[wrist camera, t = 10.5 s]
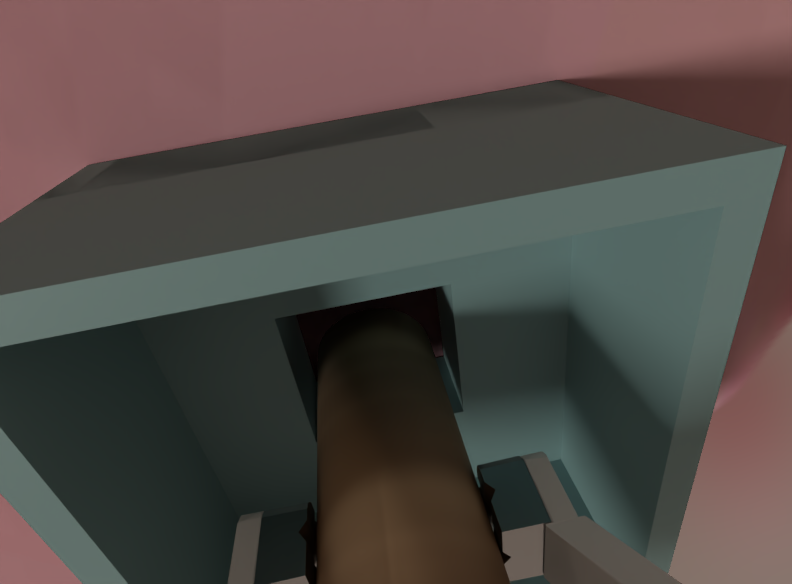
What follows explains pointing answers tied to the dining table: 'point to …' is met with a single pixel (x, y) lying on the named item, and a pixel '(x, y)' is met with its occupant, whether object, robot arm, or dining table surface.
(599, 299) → the box
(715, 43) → the dining table surface
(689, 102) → the dining table surface
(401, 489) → the peg
